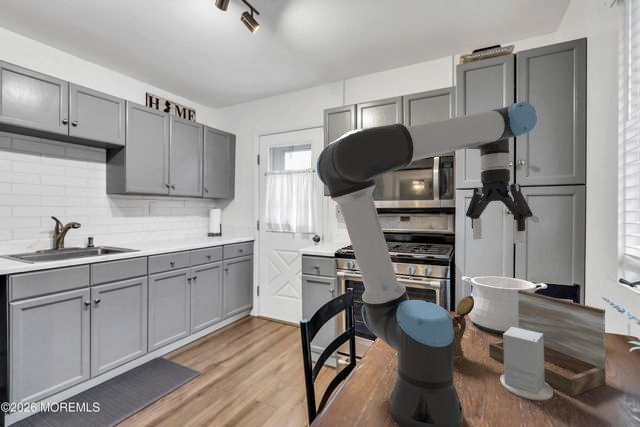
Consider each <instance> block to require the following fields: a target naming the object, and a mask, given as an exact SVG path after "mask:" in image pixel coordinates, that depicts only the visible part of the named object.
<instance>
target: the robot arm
mask: <svg viewBox="0 0 640 427" xmlns="http://www.w3.org/2000/svg"><path fill="white" fill-rule="evenodd" d="M537 120H538V116H537V111H536V109H535V107H534V105H532V104H531V103H530V102H527V101H519V102H516V103H511V104H510V105H508V106H504V107H501V108H500V107H499V108H495V109H492V110H485V111H481V112H480V111H479V112H475V113H470V114H465V115H459V116H455V117H449V118H444V119H439V120H434V121H428V122H424V123H419V124H418V123H417V124H414V125H409V126H406V125H405V124H404V123H400V122H399V123H393V124H387V125H386V124H385V125H381V126H380V125H379V126H372V127H365V128H360V129H355V130H351V131H349V132H347V133H346V134H344V135H342V136H341V137H339V138H338V139H336V140H334V141H332V142H330V143H329V144H328V145H326V146H325V147H324V148H323V149H322V151H321V152H320V154H319V155H318V158H317V162H316V173H317V176H318V178H319V179H320V181H321V183H322V184H324V185H325V187H327V190H328V192H329V196H330V199H331V200H332V201H334V202H336V203H337V204H338V205H339V208H340V212H341V214H342V217H343V221H344V224H345V227H346V231H347V234H348V236H349V240H350V244H351V247H352V250H353V253H354V257H355V260H356V264H357V267H358V270H359V272H360V276H361V280H362V283H363V286H364V289H365V290H364V292H362V295H361V299H362V300H361V301H363V305H362V306H361V318H362V320H363V323H364V324H365V327H366V328H367V329H368V330H369V331H370V333H371V334H373V335H374V336H375V337H377V338H378V339H380V340H381V341H383V343H385V344H387V345H388V346H389V347H391V349H393V350H395V352H396V353H397V376H396V379H395V383H394V385H393V390H392V392H391V395H390V400H389V401H390V402H389V403H390V404H389V405H390V407H389V410H390V413H391V416H392V417H393V419H394V420H395V422H397V424H398V425H400V426H401V427H464V410H463V405H462V403H461V402H460V397H459V394H458V391H457V388H456V386H455V380H454V379H455V376H454V374H455V373H454V372H455V369H454V364H455V363H454V330H453V322H452V319H453V318H452V316H451V314H450V313H449V312H448V310H446V309H445V308H444V307H443V306H440V305H439V304H436V303H434V302H431V301H429V302H427V301H426V300H420V299H410V297H409V295H408V294H409V293H408V291H407V288H406V285H405V284H403V283H402V282H400V281H398V279H397V275H396V272H395V269H394V266H393V261H392V258H391V254H390V252H389V248H388V244H387V241H386V237H385V235H384V231H383V228H382V224H381V220H380V218H379V214H378V210H377V207H376V204H375V200H374V197H373V192H374V190H375V188H376V182H375V179H377V178H380V177H382V176H383V175H386V174H389V173H391V172H392V173H393V172H394V171H397V170H401V169H405V168H407V167H409V166H410V165H411V164H412V163H413V162H415V161H419V160H423V159H426V158H427V159H428V158H430V157H435V156H440V155H444V154H448V153H451V152H455V151H456V152H457V151H460V150H479V151H480V152H479V153H480V170H482V171H481V172H480V183H481V184H482V187H473V194H472V197H471V200H470V202H469V206H468V207H467V210H466V213H465V216H466V218H467V217H468V218H470V219H471V229H472V233H473V235H472V239H473V241H474V240H483V237H482V236H483V235H482V234H483V231H482V226H483V225H482V218H481V215H482V214H483V213H484V212H485V210H486V208H487V207H488V205H489V204H490V203H492V202H501V203H503V204H504V206H505V207H506V208H507V209H508V210H509V212H510V213H511V214H512V215H513V217H514V219H512V232H513V234H512V235H513V237H512V238H513V243H512V244H523V243H524V232H525V231H526V219H528V218H533V216H534V214H533V212H532V211H531V208H530V207H529V204H528V202H527V201H526V199H525V196H524V195H523V193H522V189H521V188H522V187H521V185H520V183H512V184H511V183H510V181H511V170H510V169H509V168H510V164H511V163H510V162H511V161H510V139H511V138H515V137H520V136H521V135H525V134H528V133H530V132H532V131H533V130H534V129H535V127H536V125H537V123H538V121H537ZM509 183H510V184H509ZM509 192H510V194H511V195H510V194H509Z"/></svg>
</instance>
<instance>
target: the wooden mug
mask: <svg viewBox="0 0 640 427" xmlns="http://www.w3.org/2000/svg"><path fill="white" fill-rule="evenodd" d="M473 307H474V299H473V297H472V296H471V295H467V296H465V297H463V298H462V299H460V300H459V302H458V303H457V306H456V314H455V315H454V316H453V318H452V322H453V330H454V364H457V363H461V362H462V361H464V359H465V355H464V351H463V349H462V338H464V334H465V332H466V328H467V321H466V318H465V316H469V315H468V314H469V313H470V312H471V311H472V309H473Z"/></svg>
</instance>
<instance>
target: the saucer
mask: <svg viewBox="0 0 640 427" xmlns="http://www.w3.org/2000/svg"><path fill="white" fill-rule="evenodd" d="M499 379H500V380H499V381H500V384H501V386H502V387H503V388H504V389H505V390H506V391H508V392H510V393H511V394H513V395H515V396H517V397H520V398H524V399H527V400H531V401H538V402H539V401H540V402H541V401H542V402H543V401H549V400H551V399H553V397H554V388H553V387H551V386H550V385H549V384H547V383H546V382H545V383H544V385H543V387H542V389H541V391H540V392H539V394H538V395H537V394H535V393H532V392H529V391H526V390H523V389H520V388H517V387H514V386H512V385H509V384H505V379H504V373H503V374H501V375H500V377H499Z"/></svg>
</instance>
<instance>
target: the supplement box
mask: <svg viewBox="0 0 640 427" xmlns="http://www.w3.org/2000/svg"><path fill="white" fill-rule="evenodd" d="M502 338H503V339H502V340H503V343H504V363H503V374H504V379H505V384H509V385H512V386H514V387H517V388H520V389H523V390H526V391H529V392H532V393H535V394H537V395H538V394H539V392H540V391H541V389H542V387H543V385H544V383H545V379H544V366H545V360H544V340H543V334H542V333H538V332H533V331H529V330H524V329H520V328H515V327H511V328H510V329H509V330H507V331H506V332H505V333H504V334H502Z"/></svg>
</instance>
